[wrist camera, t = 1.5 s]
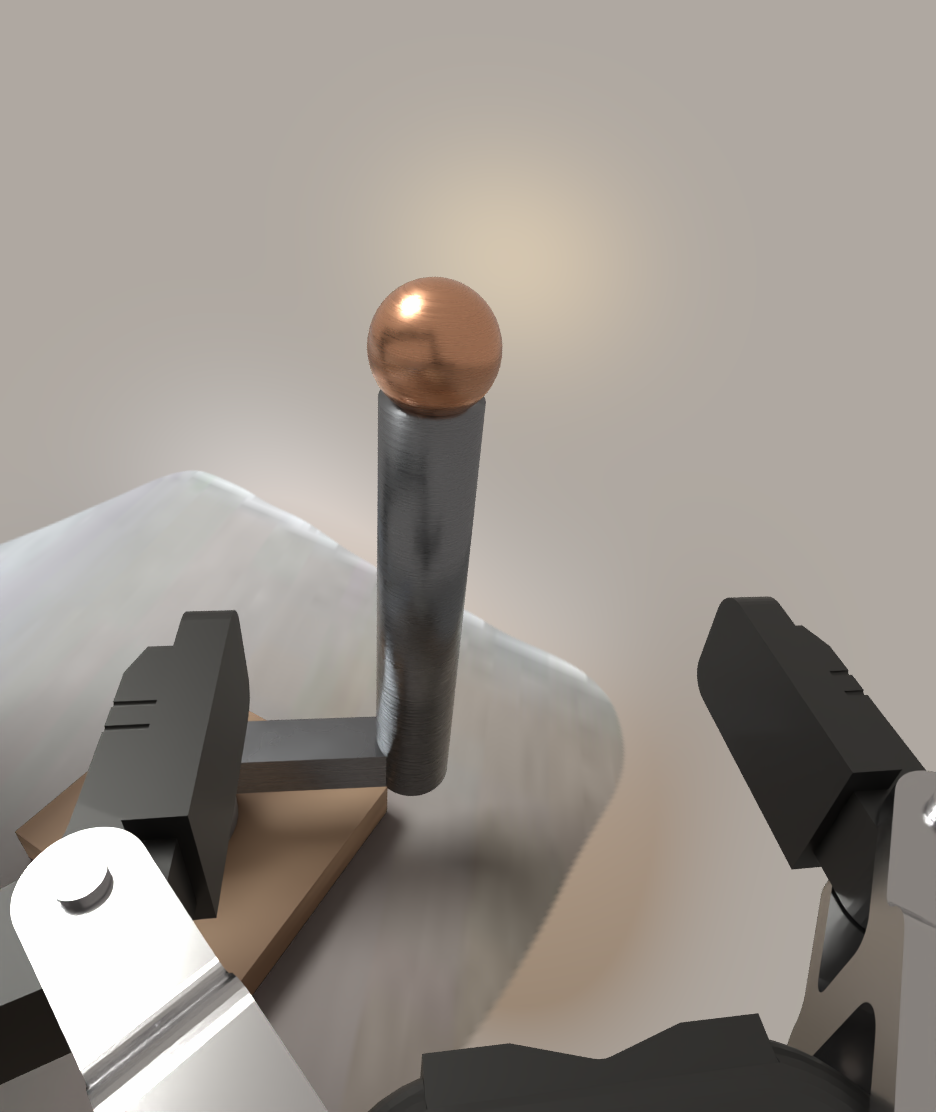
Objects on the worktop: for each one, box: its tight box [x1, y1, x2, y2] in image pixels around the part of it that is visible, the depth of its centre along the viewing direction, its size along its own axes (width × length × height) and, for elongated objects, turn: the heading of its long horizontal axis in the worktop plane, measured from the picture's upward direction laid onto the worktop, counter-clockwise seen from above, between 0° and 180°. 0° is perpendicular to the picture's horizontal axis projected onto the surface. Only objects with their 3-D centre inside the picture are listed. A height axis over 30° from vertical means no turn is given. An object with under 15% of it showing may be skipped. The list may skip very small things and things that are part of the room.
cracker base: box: [15, 711, 387, 996], centre depth 31 cm, size 12×10×5 cm
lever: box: [236, 277, 502, 796], centre depth 23 cm, size 14×4×20 cm, turn 96°
